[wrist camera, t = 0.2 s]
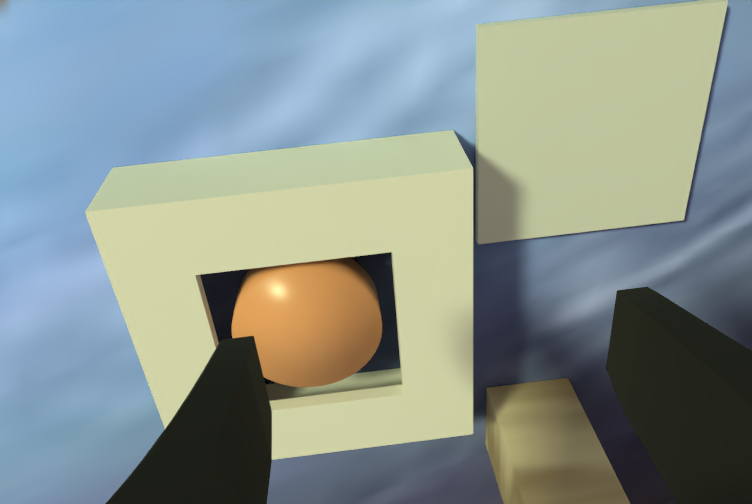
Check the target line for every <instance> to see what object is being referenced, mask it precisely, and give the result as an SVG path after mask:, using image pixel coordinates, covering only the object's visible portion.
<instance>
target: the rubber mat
mask: <svg viewBox="0 0 752 504" xmlns="http://www.w3.org/2000/svg"><path fill="white" fill-rule="evenodd" d="M727 4H728V1H727V0H702V1H692V2H683V3H674V4H664V5H655V6H645V7H636V8H626V9H617V10H607V11H598V12H588V13H579V14H569V15H560V16H551V17H541V18H532V19H522V20H513V21H503V22H494V23H484V24H476V241H477V243H478V244H486V243H494V242H503V241H511V240H520V239H528V238H537V237H545V236H554V235H563V234H571V233H580V232H588V231H597V230H605V229H614V228H622V227H631V226H639V225H648V224H656V223H665V222H673V221H682V220H684V217H685V212H686V207H687V202H688V197H689V192H690V187H691V182H692V177H693V172H694V168H695V163H696V158H697V153H698V148H699V143H700V138H701V133H702V128H703V123H704V118H705V113H706V108H707V103H708V98H709V93H710V88H711V83H712V79H713V74H714V69H715V64H716V59H717V54H718V49H719V44H720V39H721V34H722V29H723V24H724V19H725V14H726V9H727Z"/></svg>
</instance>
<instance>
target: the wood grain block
mask: <svg viewBox="0 0 752 504" xmlns="http://www.w3.org/2000/svg"><path fill="white" fill-rule="evenodd" d="M486 447H487V450H488V453H489V457H490V460H491V463H492V467H493V470H494V473H495V476H496V480H497V483H498V486H499V490H500V493H501V496H502V500H503V503H504V504H630V502H629V500H628V498H627V496H626V494H625V492H624V490H623V488H622V486H621V484H620V482H619V480H618V478H617V476H616V474H615V472H614V470H613V468H612V466H611V464H610V462H609V460H608V458H607V456H606V454H605V452H604V450H603V448H602V446H601V444H600V442H599V440H598V438H597V436H596V434H595V432H594V430H593V428H592V426H591V424H590V422H589V420H588V418H587V416H586V414H585V412H584V410H583V408H582V406H581V404H580V401H579V399H578V397H577V395H576V393H575V391H574V389H573V387H572V385H571V383H570V381H569V379H568V378H561V379H553V380H545V381H537V382H529V383H521V384H513V385H505V386H497V387H490V388H487V395H486Z"/></svg>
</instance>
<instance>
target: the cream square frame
mask: <svg viewBox="0 0 752 504" xmlns="http://www.w3.org/2000/svg"><path fill="white" fill-rule="evenodd" d="M85 213H86V216H87V219H88V221H89V224H90V227H91V230H92V232H93V235H94V238H95V240H96V243H97V246H98V249H99V251H100V254H101V257H102V259H103V262H104V265H105V268H106V270H107V273H108V276H109V278H110V281H111V284H112V286H113V289H114V292H115V295H116V297H117V300H118V303H119V305H120V308H121V311H122V314H123V316H124V319H125V322H126V324H127V327H128V330H129V333H130V335H131V338H132V341H133V343H134V346H135V349H136V352H137V354H138V357H139V360H140V362H141V365H142V368H143V370H144V373H145V376H146V379H147V381H148V384H149V387H150V389H151V392H152V395H153V398H154V400H155V403H156V406H157V408H158V411H159V414H160V417H161V419H162V422H163V425H164V427H165V429H166V427H167V426H168V424H169V423H170V421H171V420H172V419H173V417H174V416H175V414H176V412H177V411H178V409H179V408H180V406H181V405H182V403H183V402H184V400H185V399H186V397H187V396H188V394H189V393H190V391H191V389H192V388H193V386H194V385H195V383H196V381H197V380H198V378H199V376H200V375H201V373H202V371H203V370H204V368H205V366H206V365H207V363H208V361H209V359H210V358H211V356H212V354H213V353H214V351H215V349H216V347H217V345H218V344H219V342H218V338H217V334H216V331H215V327H214V324H213V320H212V316H211V313H210V309H209V305H208V302H207V298H206V295H205V291H204V287H203V284H202V280H201V276H200V275H201V274H210V273H218V272H227V271H235V270H244V269H252V268H261V267H269V266H278V265H286V264H295V263H303V262H312V261H320V260H329V259H338V258H346V257H355V256H363V255H372V254H380V253H389V252H391V256H392V269H393V281H394V293H395V306H396V318H397V331H398V343H399V355H400V368H396V369H387V370H379V371H371V372H363V373H355V374H353V375H351V376H349V377H347V378H345V379H343V380H341V381H338V382H336V383H332V384H328V385H324V386H318V387H294V386H288V385H283V384H279V383H274V384H266V389H267V393H268V398H269V402H270V406H271V410H272V460H274V459H282V458H290V457H297V456H305V455H313V454H321V453H329V452H337V451H345V450H352V449H360V448H368V447H376V446H384V445H392V444H400V443H407V442H415V441H423V440H431V439H439V438H447V437H454V436H462V435H470V434H473V167H472V165H471V163H470V161H469V159H468V157H467V155H466V154H465V152H464V150H463V148H462V146H461V144H460V142H459V140H458V138H457V136H456V135H455V133H454V131H453V130H447V131H438V132H429V133H420V134H411V135H402V136H393V137H384V138H375V139H366V140H357V141H348V142H339V143H330V144H321V145H312V146H303V147H294V148H285V149H276V150H267V151H258V152H249V153H241V154H232V155H223V156H214V157H205V158H196V159H187V160H178V161H169V162H160V163H151V164H142V165H133V166H124V167H115V168H112V170H111V171H110V173H109V174H108V176H107V178H106V179H105V181H104V183H103V184H102V186H101V187H100V189H99V191H98V192H97V194H96V195H95V197H94V199H93V200H92V202H91V203H90V205H89V207H88V208H87V210H86V211H85Z"/></svg>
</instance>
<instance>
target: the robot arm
mask: <svg viewBox="0 0 752 504" xmlns="http://www.w3.org/2000/svg"><path fill="white" fill-rule="evenodd" d="M606 369H607V372H608V374H609V377H610V379H611V382H612V384H613V387H614V389H615V392H616V394H617V397H618V399H619V401H620V403H621V406H622V408H623V410H624V413H625V414H626V416H627V418H628V420H629V422H630V423H631V425H632V427H633V429H634V430H635V432H636V434H637V435H638V437H639V439H640V441H641V442H642V444H643V446H644V447H645V449H646V451H647V453H648V454H649V456H650V458H651V459H652V461H653V463H654V464H655V466H656V468H657V469H658V471H659V473H660V474H661V476H662V478H663V480H664V481H665V483H666V485H667V486H668V488H669V490H670V491H671V493H672V495H673V496H674V498H675V500H676V501H677V503H678V504H752V351H751V350H749V349H748V348H746V347H744V346H743V345H741V344H739V343H737V342H736V341H734V340H733V339H731V338H729V337H728V336H726V335H724V334H723V333H721V332H719V331H718V330H716V329H715V328H713V327H711V326H710V325H708V324H707V323H705V322H704V321H702V320H700V319H699V318H697V317H696V316H694V315H692V314H691V313H689V312H688V311H686V310H685V309H683V308H681V307H680V306H678V305H677V304H675V303H673V302H672V301H670V300H669V299H667V298H665V297H664V296H662V295H661V294H659V293H657V292H655V291H654V290H652V289H650V288H648V287H643V288H634V289H626V290H618V291H617V295H616V302H615V309H614V316H613V323H612V330H611V337H610V344H609V352H608V359H607V366H606ZM271 460H272V410H271V406H270V402H269V398H268V393H267V389H266V385H265V381H264V377H263V373H262V368H261V364H260V360H259V356H258V352H257V348H256V343H255V339H254V336H247V337H239V338H231V339H223V340H222V341H221V342H220V343H219V344H218V345H217V347H216V349H215V351H214V353H213V354H212V356H211V358H210V359H209V361H208V363H207V365H206V366H205V368H204V370H203V371H202V373H201V375H200V376H199V378H198V380H197V381H196V383H195V385H194V386H193V388H192V389H191V391H190V393H189V394H188V396H187V397H186V399H185V400H184V402H183V403H182V405H181V406H180V408H179V409H178V411H177V412H176V414H175V416H174V417H173V419H172V420H171V421H170V423H169V424H168V426H167V427H166V429H165V430H164V431H163V433H162V434H161V435H160V437H159V438H158V439H157V441H156V442H155V444H154V445H153V446H152V448H151V449H150V450H149V452H148V453H147V454H146V456H145V457H144V458H143V460H142V461H141V462H140V464H139V465H138V466H137V467H136V469H135V470H134V471H133V472H132V474H131V475H130V476H129V477H128V478H127V480H126V481H125V482H124V483H123V484H122V485H121V487H120V488H119V489H118V490H117V491H116V492H115V494H114V495H113V496H112V497H111V498H110V499H109V500H108V502H107V503H106V504H266V503H267V495H268V486H269V478H270V469H271Z"/></svg>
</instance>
